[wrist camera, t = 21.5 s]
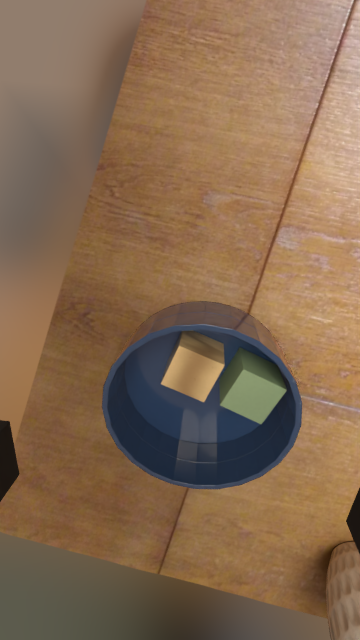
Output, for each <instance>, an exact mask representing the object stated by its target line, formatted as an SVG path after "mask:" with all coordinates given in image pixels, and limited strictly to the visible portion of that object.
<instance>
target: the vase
mask: <svg viewBox="0 0 360 640" xmlns="http://www.w3.org/2000/svg"><path fill="white" fill-rule="evenodd" d="M326 601H327V617H328V623H329V630H330V637H331V640H360V554H359V552H358V549H357V547H356V544H355V542H345V543H342V544H340V545H338V546H337V547H336V548H334V550H333V551H332V554H331V558H330V562H329V567H328V572H327V585H326Z"/></svg>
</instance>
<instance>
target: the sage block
mask: <svg viewBox="0 0 360 640" xmlns="http://www.w3.org/2000/svg"><path fill="white" fill-rule="evenodd" d="M219 388H220V405H221V406H223V407H225V408H227V409H229V410H231V411H233V412H235V413H238V414H240V415H242V416H244V417H246V418H248V419H250V420H253V421H255V422H257V423H259V424H262V423H263V422H264V420H265V419H266V418H267V416H268V415H269V414H270V412H271V411H272V410H273V408H274V407H275V406H276V404H277V403H278V402H279V400H280V399H281V398H282V396H283V395H284V394H285V392H286V391H287V389H286V386H285V383H284V381H283V378H282V375H281V373H280V370H279V368H278V365H276V364H274V363H271V362H269V361H267V360H265V359H263V358H261V357H259V356H257V355H255V354H253V353H251V352H249V351H247V350H245V349H243V348H239V349H238V351H237V352H236V354H235V356H234V357H233V359H232V360H231V362H230V363H229V365H228V367H227V368H226V370H225V371H224V373H223V375H222V376H221V378H220V379H219Z"/></svg>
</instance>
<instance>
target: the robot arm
mask: <svg viewBox="0 0 360 640" xmlns="http://www.w3.org/2000/svg"><path fill="white" fill-rule="evenodd" d="M18 476H19V470H18V464H17V459H16V454H15V448H14V443H13V438H12V432H11V427H10V422H9V421H1V420H0V501H1V500H2V498H3V497H4V496H5V494H6V493H7V491H8V490H9V488H10V487H11V486H12V484H13V483H14V481H15V480H16V478H17V477H18ZM346 522H347V525H348V527H349V529H350V532H351V534H352V537H353V539H354V542H355V544H356V547H357V549H358V552H359V554H360V488H359V491H358V493H357V495H356V498H355V500H354V503H353V505H352V508H351V510H350V513H349V515H348V517H347V520H346Z"/></svg>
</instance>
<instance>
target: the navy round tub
mask: <svg viewBox="0 0 360 640" xmlns="http://www.w3.org/2000/svg"><path fill="white" fill-rule="evenodd" d="M192 330H193V331H195V332H197V333H200V334H202V335H204V336H207V337H209V338H211V339H213V340H216V341H218V342H220V343H223V344H224V362H225V366H224V368H223V369H222V371H221V373H220V375H219V377H218V378H217V380H216V382H215V384H214V385H213V387H212V389H211V391H210V392H209V394H208V396H207V398H206V400H205V401H204V402H202V401H199V400H197V399H195V398H192V397H190V396H188V395H185V394H183V393H181V392H178V391H176V390H174V389H171V388H169V387H167V386H164V385H162V384H161V381H162V378H163V375H164V371H165V368H166V365H167V361H168V359H169V357H170V355H171V353H172V351H173V348H174V346H175V344H176V342H177V340H178V338H179V336H180V334H181V331H192ZM239 348H243V349H245V350H247V351H249V352H251V353H253V354H255V355H257V356H259V357H261V358H263V359H265V360H267V361H269V362H271V363H274V364H276V365H278V368H279V370H280V373H281V375H282V378H283V381H284V383H285V386H286V389H287V391H286V392H285V394H284V395H283V396H282V398H281V399H280V400H279V402H278V403H277V404H276V406H275V407H274V408H273V410H272V411H271V412H270V414H269V415H268V416H267V418H266V419H265V420H264V422H263V423H262V424H259V423H257V422H255V421H253V420H250V419H248V418H246V417H244V416H242V415H240V414H238V413H235V412H233V411H231V410H229V409H227V408H225V407H223V406H221V405H220V388H219V379H220V378H221V376H222V375H223V373H224V371H225V370H226V368H227V367H228V365H229V363H230V362H231V360H232V359H233V357H234V356H235V354H236V352H237V351H238V349H239ZM102 409H103V414H104V418H105V422H106V426H107V429H108V431H109V433H110V435H111V436H112V438H113V440H114V442H115V444H116V445H117V447H118V448H119V449H120V450H121V451H122V452H123V453H124V454H125V456H126V457H127V458H128V459H129V460H130V461H131V462H132V463H133V464H135V465H136V466H138V467H139V468H141V469H142V470H144V471H145V472H147V473H148V474H150V475H151V476H154V477H156V478H158V479H161V480H163V481H166V482H168V483H170V484H174V485H178V486H183V487H188V488H193V489H222V488H227V487H233V486H238V485H242V484H244V483H247V482H249V481H252V480H254V479H256V478H259V477H261V476H263V475H264V474H266V473H267V472H268V471H270V470H271V469H272V468H274V467H275V466H276V465H278V464H279V463H280V462H281V461H282V460H283V458H284V457H285V456H286V455H287V453H288V452H289V451H290V450H291V448H292V447H293V445H294V443H295V440H296V438H297V435H298V433H299V430H300V427H301V419H302V401H301V397H300V394H299V390H298V387H297V384H296V380H295V378H294V376H293V374H292V371H291V369H290V367H289V365H288V363H287V360H286V358H285V356H284V354H283V351H282V349H281V348H280V346H279V345H278V343H277V341H276V340H275V338H274V337H273V336H272V334H271V333H270V332H269V330H268V329H267V328H266V327H264V326H263V325H262V324H261V323H260V322H259V321H258V320H256V319H255V318H253V317H252V316H251V315H249V314H247V313H245V312H243V311H241V310H239V309H237V308H234V307H231V306H229V305H224V304H220V303H215V302H206V301H201V302H187V303H181V304H177V305H173V306H170V307H168V308H165V309H163V310H161V311H159V312H157V313H156V314H154V315H152V316H151V317H149V318H148V319H147V320H146V321H144V322H143V323H142V324H141V325H140V326H139V327H138V328H137V329H136V331H135V332H134V333H133V335H132V336H131V337H130V338H129V340H128V341H127V343H126V344H125V346H124V347H123V349H122V351H121V352H120V354H119V355H118V357H117V359H116V360H115V362H114V363H113V365H112V367H111V369H110V372H109V374H108V376H107V379H106V381H105V384H104V387H103V401H102Z"/></svg>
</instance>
